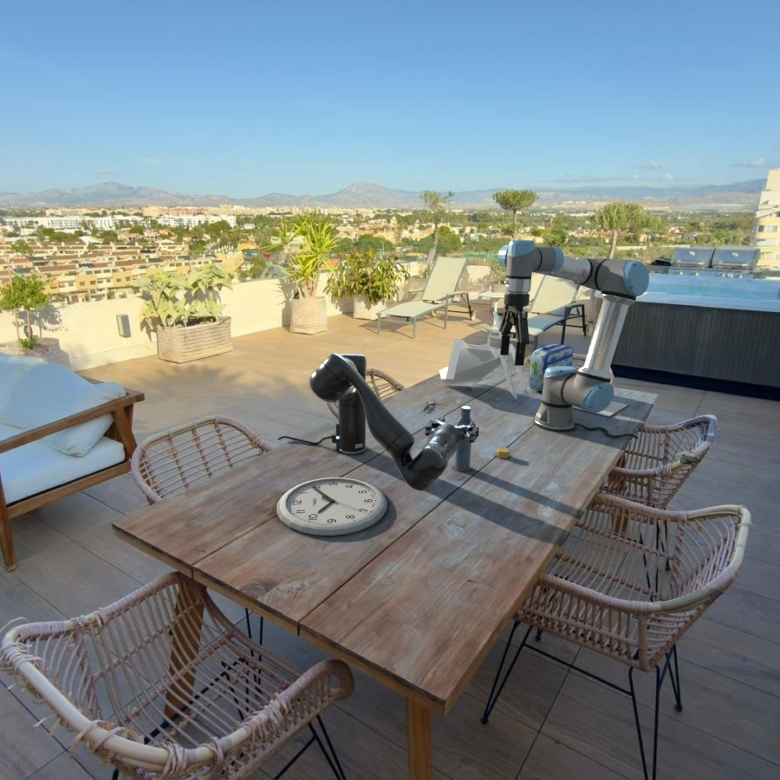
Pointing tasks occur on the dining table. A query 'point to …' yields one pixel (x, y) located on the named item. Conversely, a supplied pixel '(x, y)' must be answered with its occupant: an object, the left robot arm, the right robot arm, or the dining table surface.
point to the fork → (430, 403)
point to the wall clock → (331, 506)
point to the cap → (502, 452)
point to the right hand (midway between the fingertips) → (511, 360)
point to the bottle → (463, 443)
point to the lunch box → (548, 362)
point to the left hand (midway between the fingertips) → (457, 422)
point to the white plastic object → (479, 363)
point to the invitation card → (610, 408)
